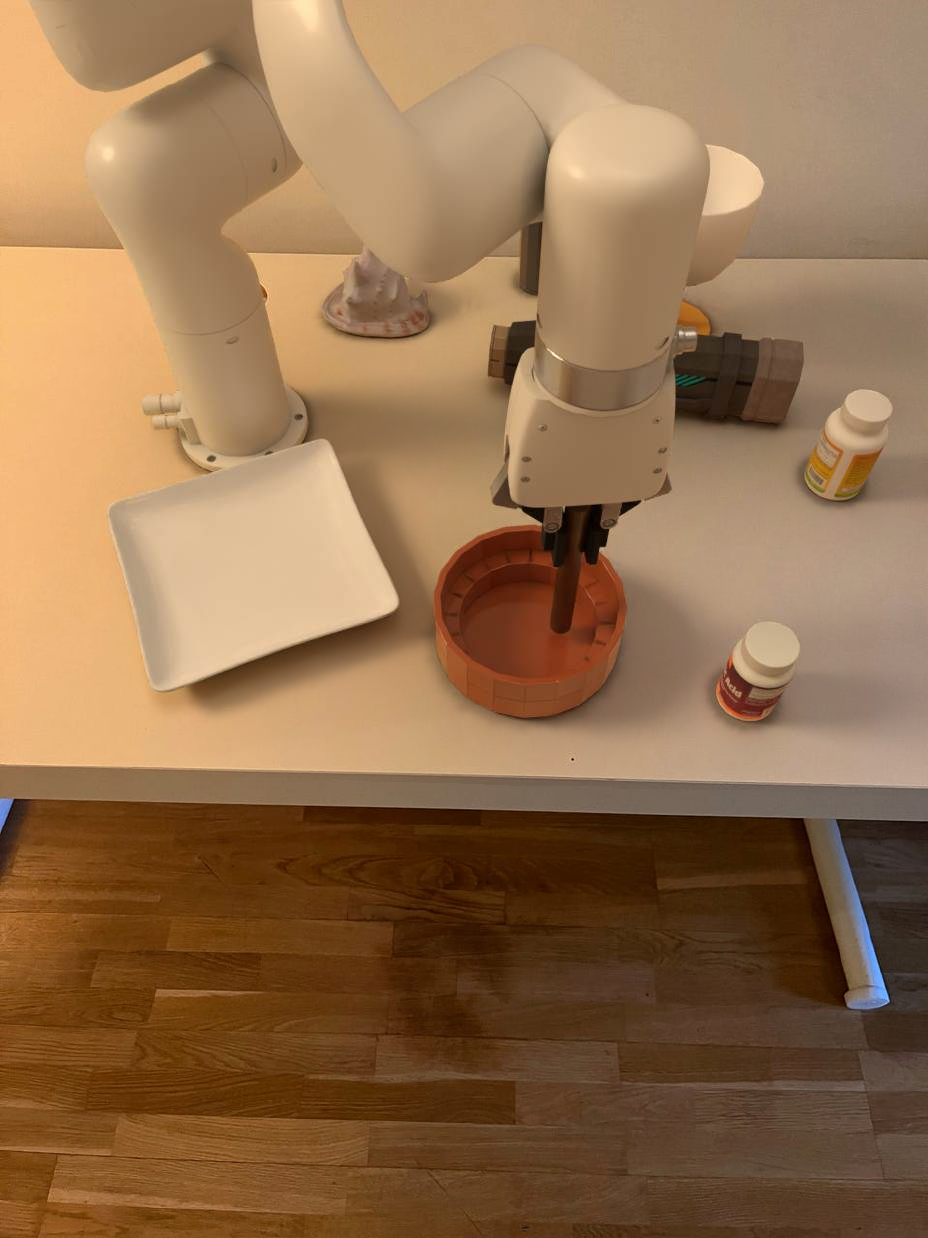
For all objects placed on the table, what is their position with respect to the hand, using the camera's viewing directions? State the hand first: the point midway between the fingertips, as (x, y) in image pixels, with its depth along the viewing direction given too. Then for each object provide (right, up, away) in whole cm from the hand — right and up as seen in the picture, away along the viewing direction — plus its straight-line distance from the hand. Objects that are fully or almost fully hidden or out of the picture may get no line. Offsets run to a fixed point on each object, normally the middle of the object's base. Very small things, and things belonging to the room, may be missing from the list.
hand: (572, 549), depth 66 cm
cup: (+14, +26, +32) cm, 44 cm away
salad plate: (-27, -1, +15) cm, 30 cm away
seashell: (-17, +29, +34) cm, 48 cm away
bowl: (-3, -7, +11) cm, 13 cm away
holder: (0, +33, +36) cm, 49 cm away
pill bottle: (+15, -12, +8) cm, 20 cm away
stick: (0, -6, +9) cm, 11 cm away
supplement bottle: (+27, +8, +20) cm, 35 cm away
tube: (+9, +17, +26) cm, 33 cm away
